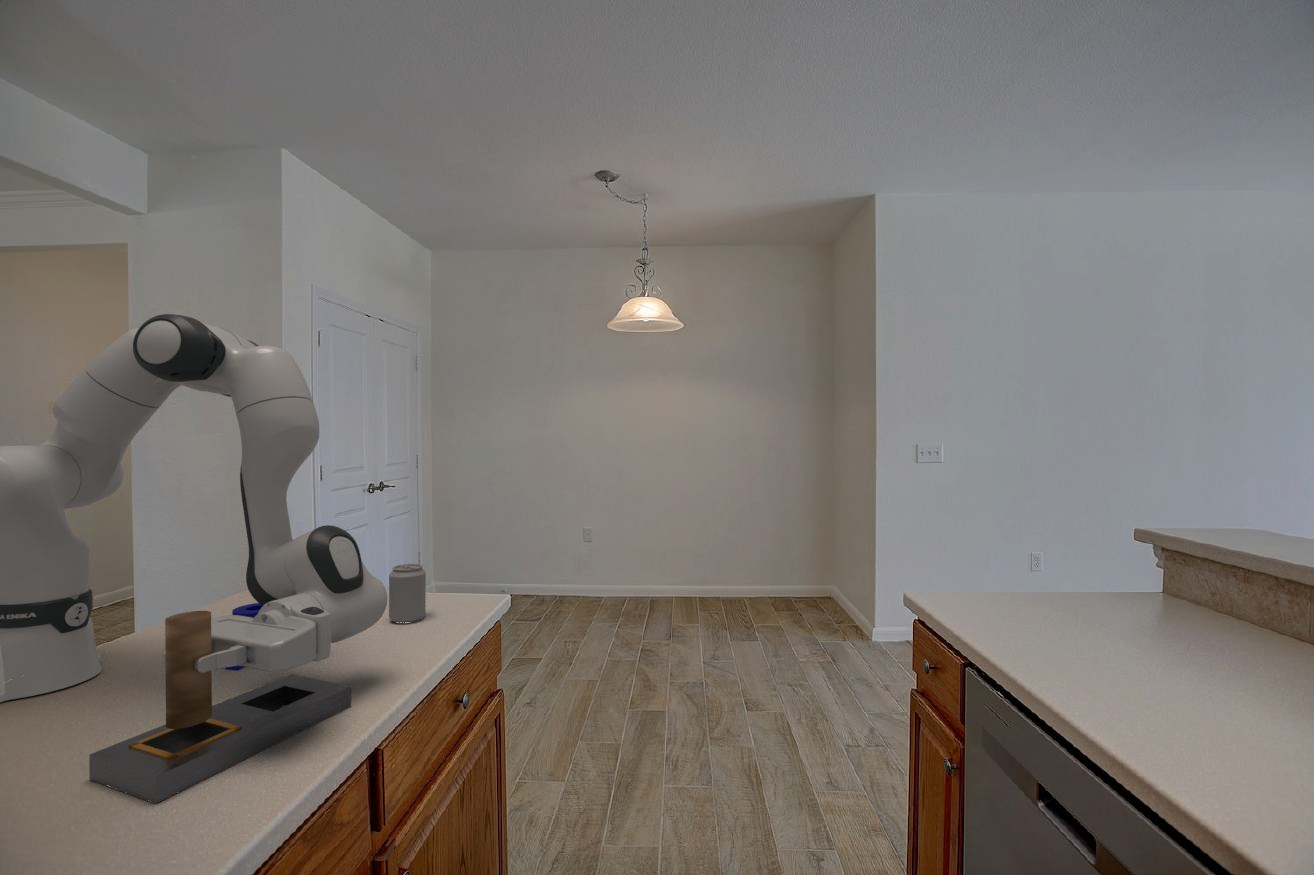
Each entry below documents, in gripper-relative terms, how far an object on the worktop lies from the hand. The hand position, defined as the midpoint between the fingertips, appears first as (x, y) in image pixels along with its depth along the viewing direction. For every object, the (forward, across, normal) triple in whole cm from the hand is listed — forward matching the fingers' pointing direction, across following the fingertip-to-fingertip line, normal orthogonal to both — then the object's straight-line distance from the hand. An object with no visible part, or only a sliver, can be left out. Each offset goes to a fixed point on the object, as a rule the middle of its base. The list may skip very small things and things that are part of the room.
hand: (180, 662), depth 73 cm
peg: (-1, 0, +8) cm, 8 cm away
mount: (-29, -29, +13) cm, 43 cm away
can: (-56, -18, +13) cm, 60 cm away
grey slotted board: (-7, 0, +13) cm, 14 cm away
